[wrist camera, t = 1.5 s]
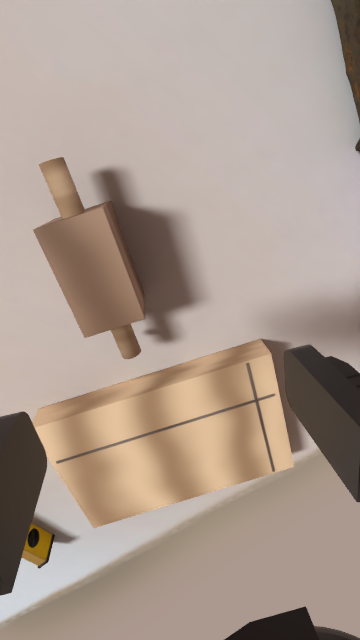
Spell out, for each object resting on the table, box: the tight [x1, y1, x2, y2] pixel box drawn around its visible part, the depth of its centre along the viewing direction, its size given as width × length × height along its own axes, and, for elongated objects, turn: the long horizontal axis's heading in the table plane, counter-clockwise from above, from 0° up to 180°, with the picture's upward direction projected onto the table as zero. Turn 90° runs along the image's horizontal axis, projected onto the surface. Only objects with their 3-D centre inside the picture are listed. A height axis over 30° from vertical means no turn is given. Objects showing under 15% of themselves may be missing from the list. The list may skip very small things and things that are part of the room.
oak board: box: [32, 339, 294, 528], centre depth 30 cm, size 20×13×3 cm, turn 106°
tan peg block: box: [33, 157, 145, 359], centre depth 22 cm, size 4×13×5 cm, turn 16°
